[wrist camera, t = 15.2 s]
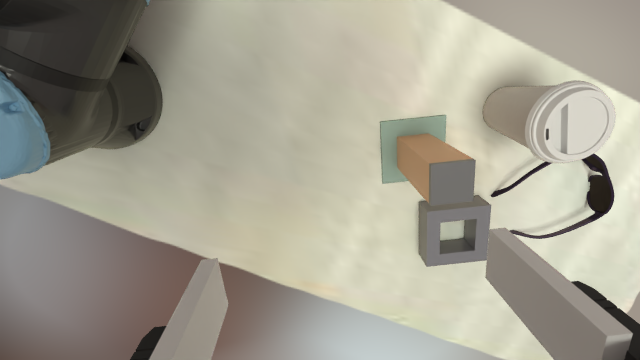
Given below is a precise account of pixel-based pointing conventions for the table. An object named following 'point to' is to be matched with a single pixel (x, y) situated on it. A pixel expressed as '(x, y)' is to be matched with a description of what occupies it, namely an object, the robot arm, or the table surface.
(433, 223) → the grey square frame
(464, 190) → the plug
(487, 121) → the coffee cup
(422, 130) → the pad
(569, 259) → the table surface
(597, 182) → the sunglasses
